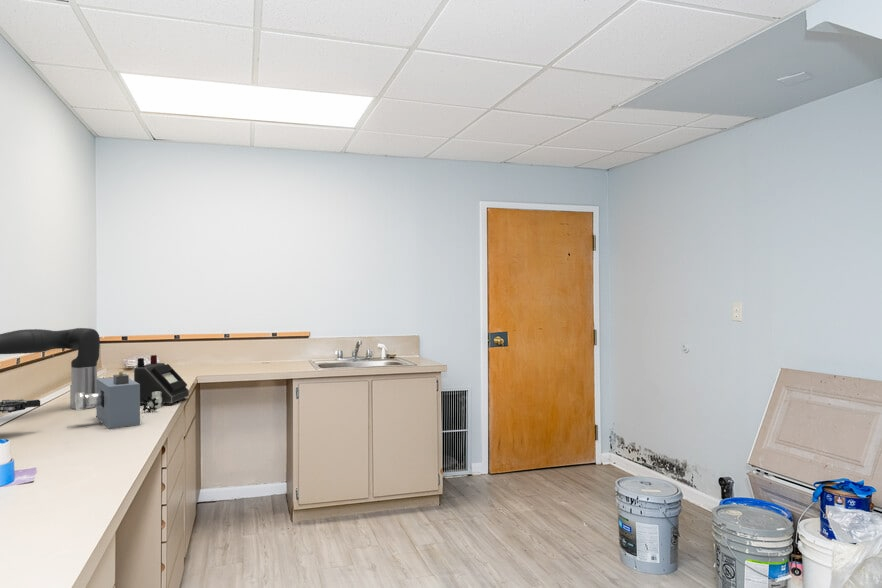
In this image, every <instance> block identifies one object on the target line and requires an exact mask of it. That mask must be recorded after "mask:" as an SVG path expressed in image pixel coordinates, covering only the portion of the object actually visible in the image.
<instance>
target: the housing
mask: <svg viewBox="0 0 882 588" xmlns="http://www.w3.org/2000/svg"><path fill="white" fill-rule="evenodd" d="M100 392H104V405H101V406H96V407H95V408H96V418H97V419H98V420H99V421H100V422H101V423H102V424H103V425H104V426H105V427H106V428H108V429H109V430H112V429H119V427H120V428H126V426H127V427H134V426H140V425H141V405H140V384H139V383H137V382H135V381H134V379H131V378H129V384H119V385H116V384H114V381H113V377H101V378H97V379H96V393H100ZM133 425H134V426H133Z"/></svg>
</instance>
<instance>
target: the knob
mask: <svg viewBox="0 0 882 588" xmlns="http://www.w3.org/2000/svg"><path fill="white" fill-rule="evenodd" d="M101 405H104V392H100V393H91V394H85V392H78V393H76V394H75V407H76V409H75V411H84V410H86V409H85V408H86V407H93V406H101ZM93 408H94V407H93Z"/></svg>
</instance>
